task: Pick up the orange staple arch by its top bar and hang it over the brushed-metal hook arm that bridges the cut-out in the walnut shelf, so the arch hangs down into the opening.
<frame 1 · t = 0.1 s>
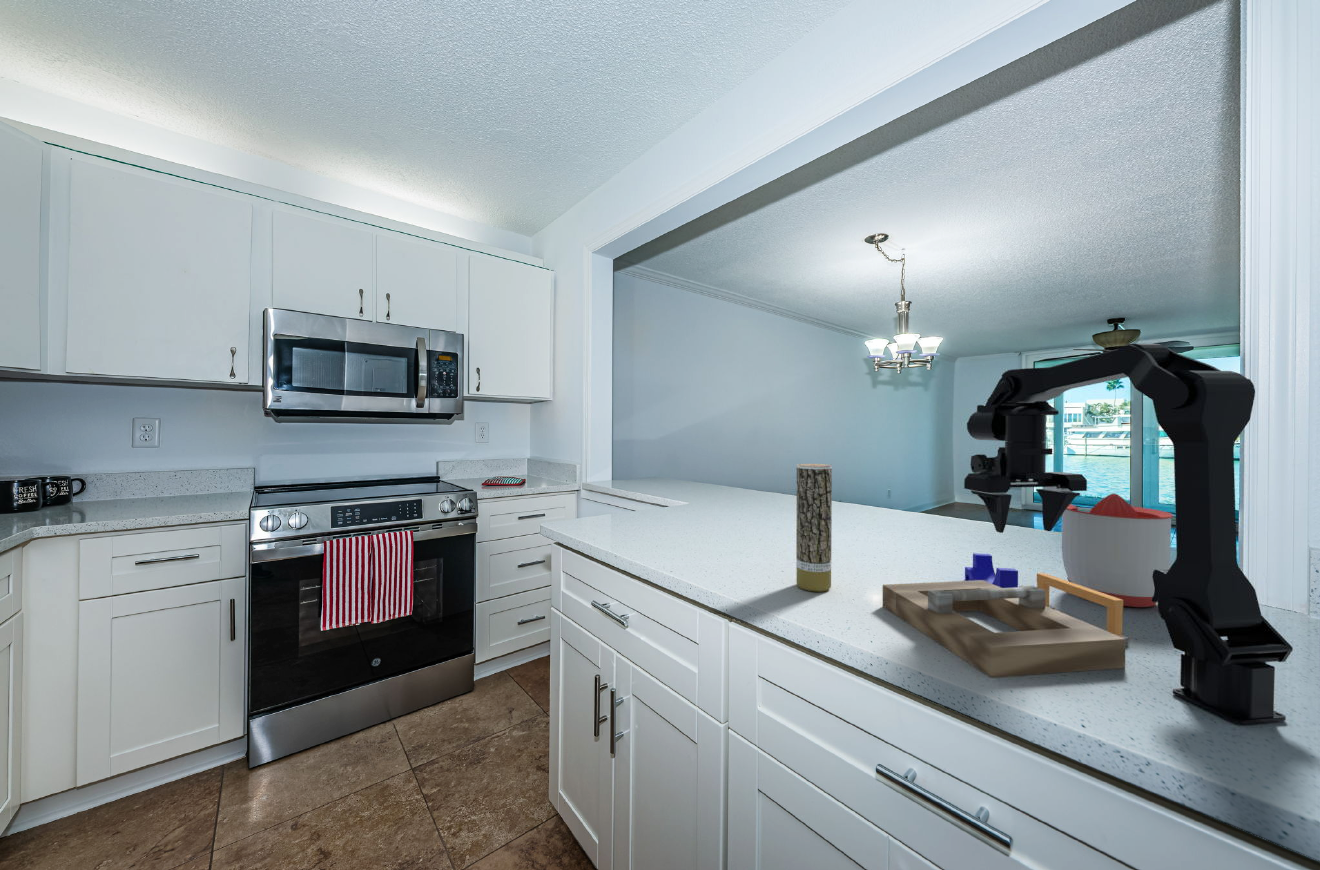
hand: (1023, 531, 85), 15 cm above the worktop, tool pointing down, fingers open, 9 cm apart
citrus juicer: (1108, 597, 94), on the worktop
orange staple arch: (1075, 627, 79), on the worktop
cable clip: (989, 592, 97), on the worktop
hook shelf: (986, 632, 78), on the worktop
paper tube: (813, 588, 99), on the worktop
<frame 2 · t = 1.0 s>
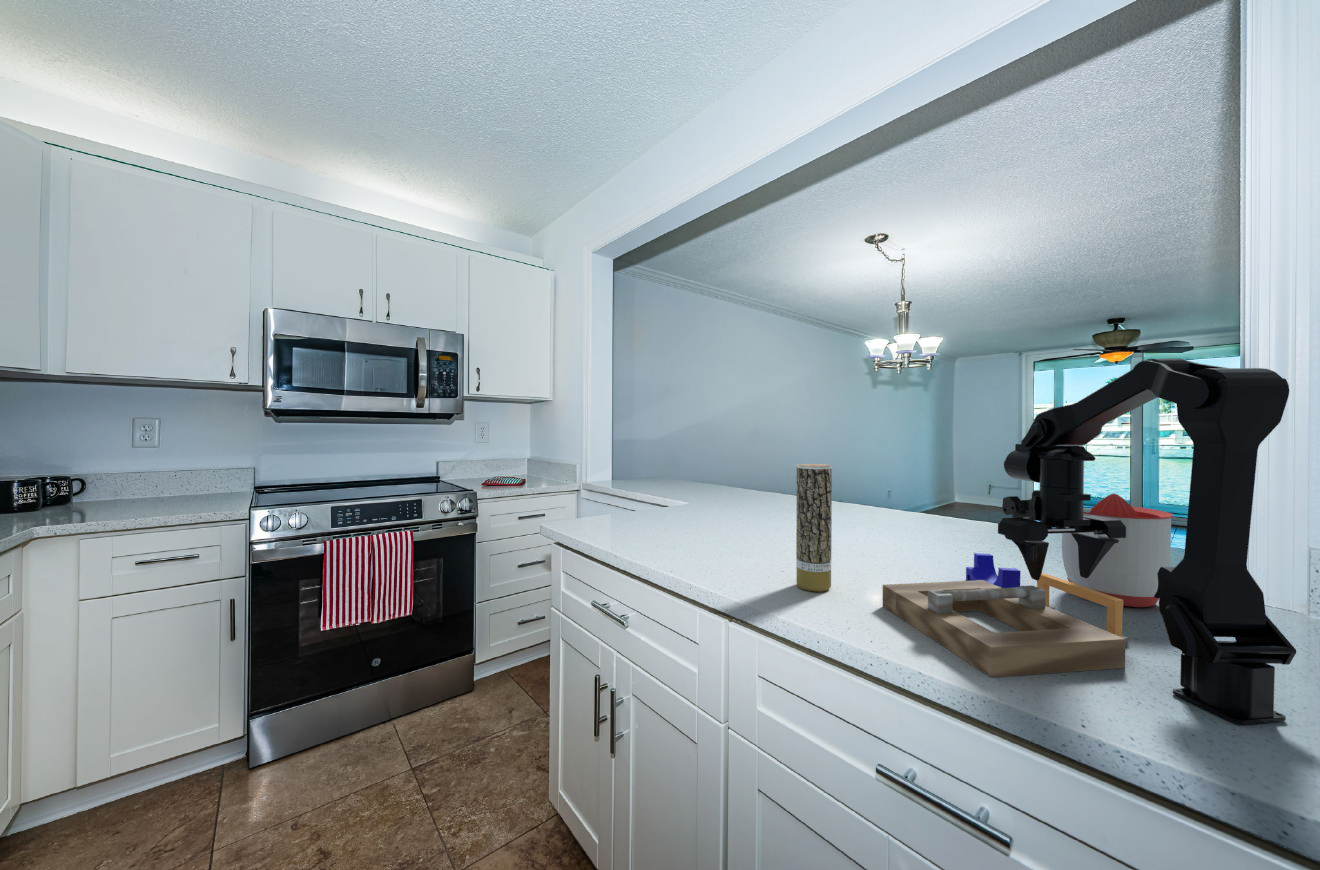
hand: (1059, 578, 82), 7 cm above the worktop, tool pointing down, fingers open, 9 cm apart
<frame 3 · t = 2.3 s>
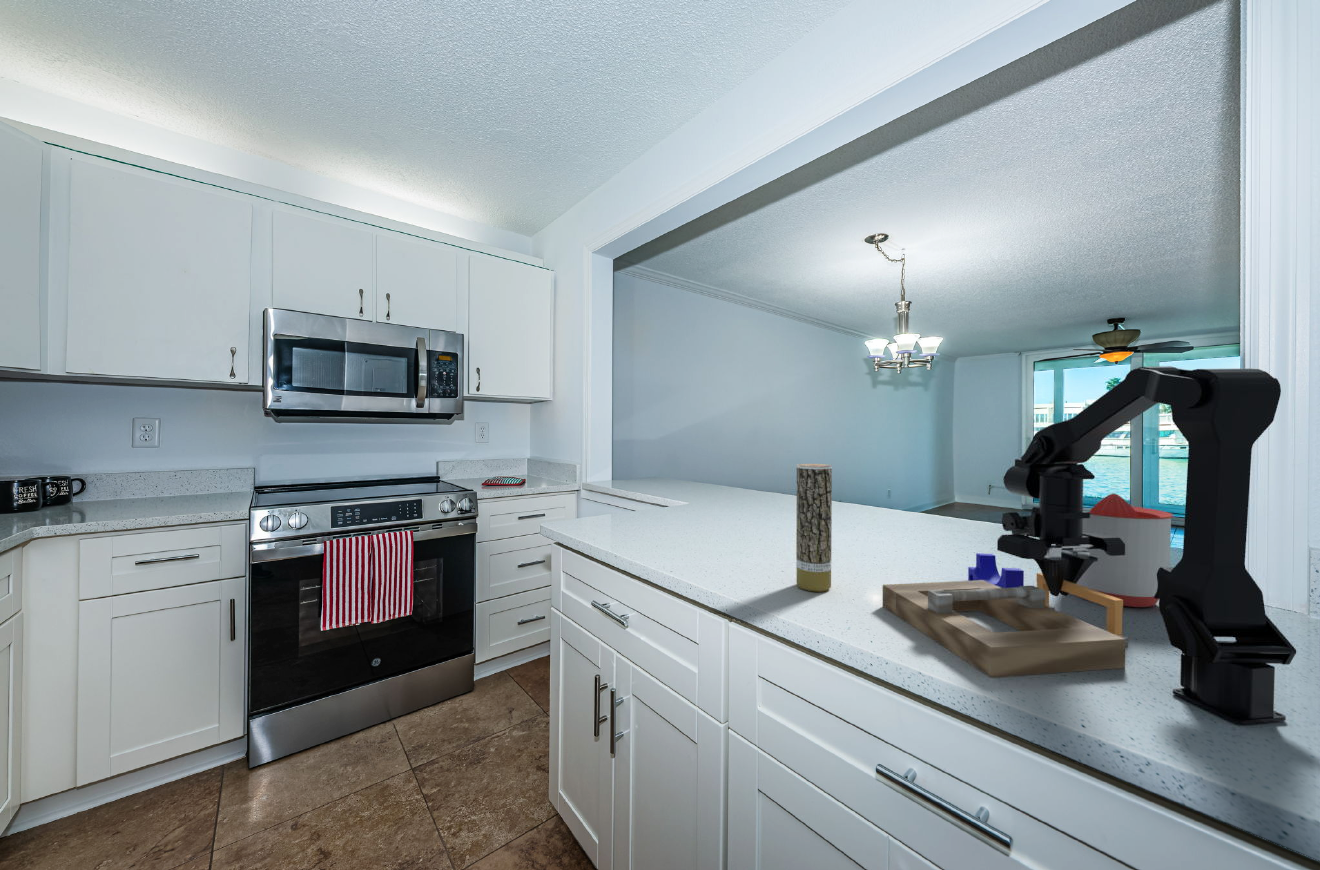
hand: (1059, 595, 82), 4 cm above the worktop, tool pointing down, fingers closed on orange staple arch
orange staple arch: (1075, 627, 79), on the worktop, touching gripper
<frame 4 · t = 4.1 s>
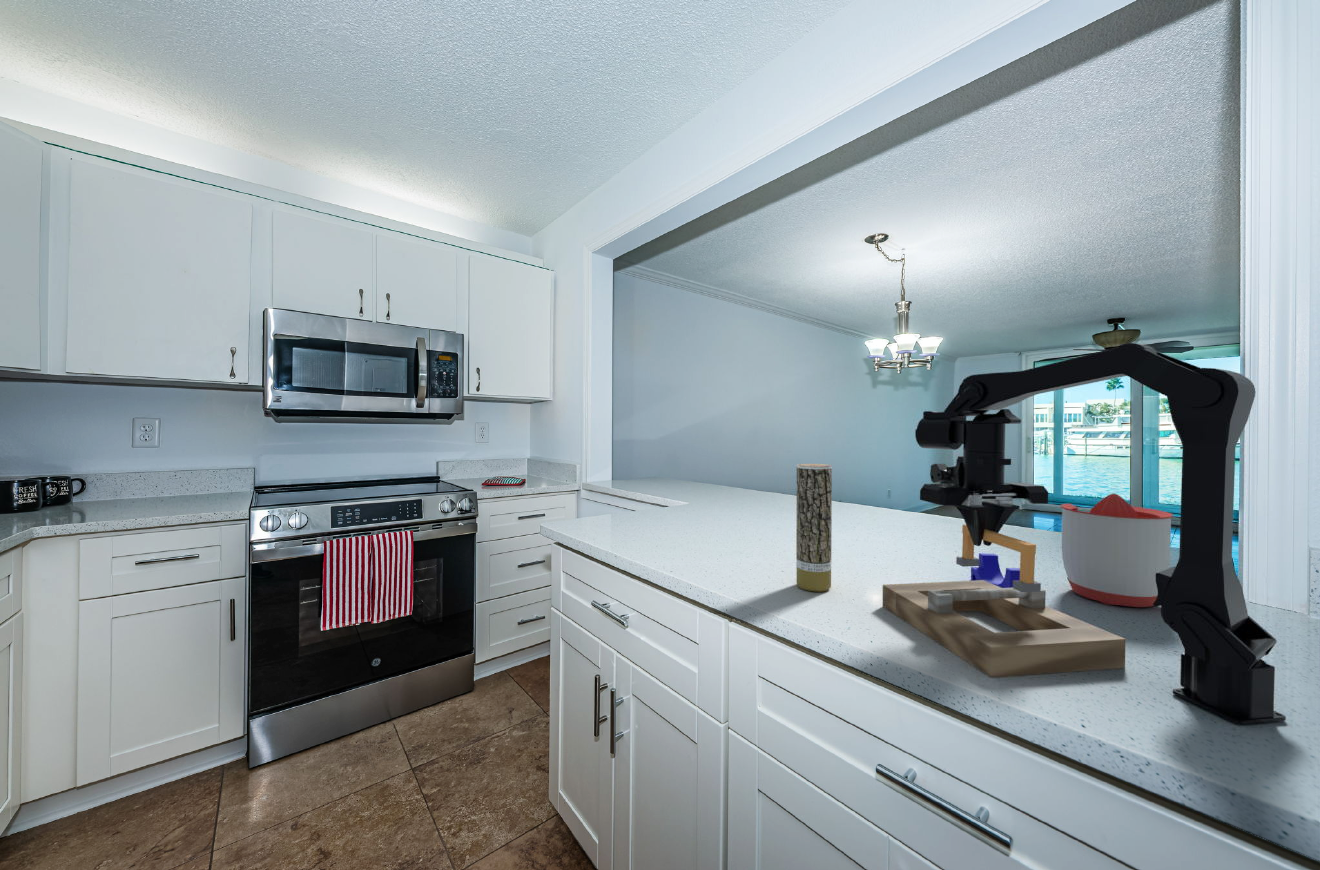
hand: (981, 545, 81), 13 cm above the worktop, tool pointing down, fingers closed on orange staple arch
orange staple arch: (994, 576, 78), point 9 cm above the worktop, touching gripper
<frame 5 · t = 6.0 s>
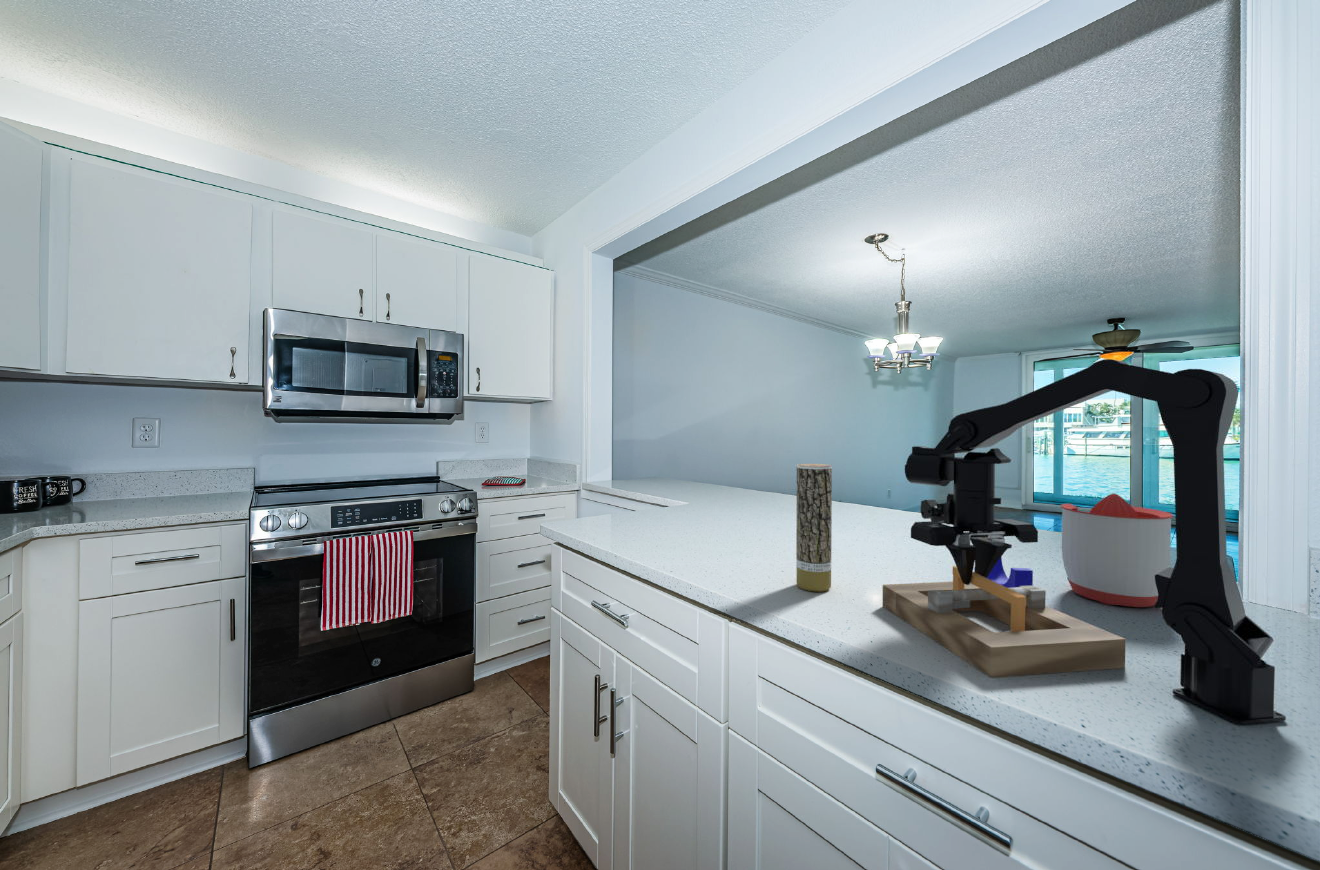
hand: (972, 583, 80), 7 cm above the worktop, tool pointing down, fingers closed
orange staple arch: (985, 621, 78), point 2 cm above the worktop, touching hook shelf
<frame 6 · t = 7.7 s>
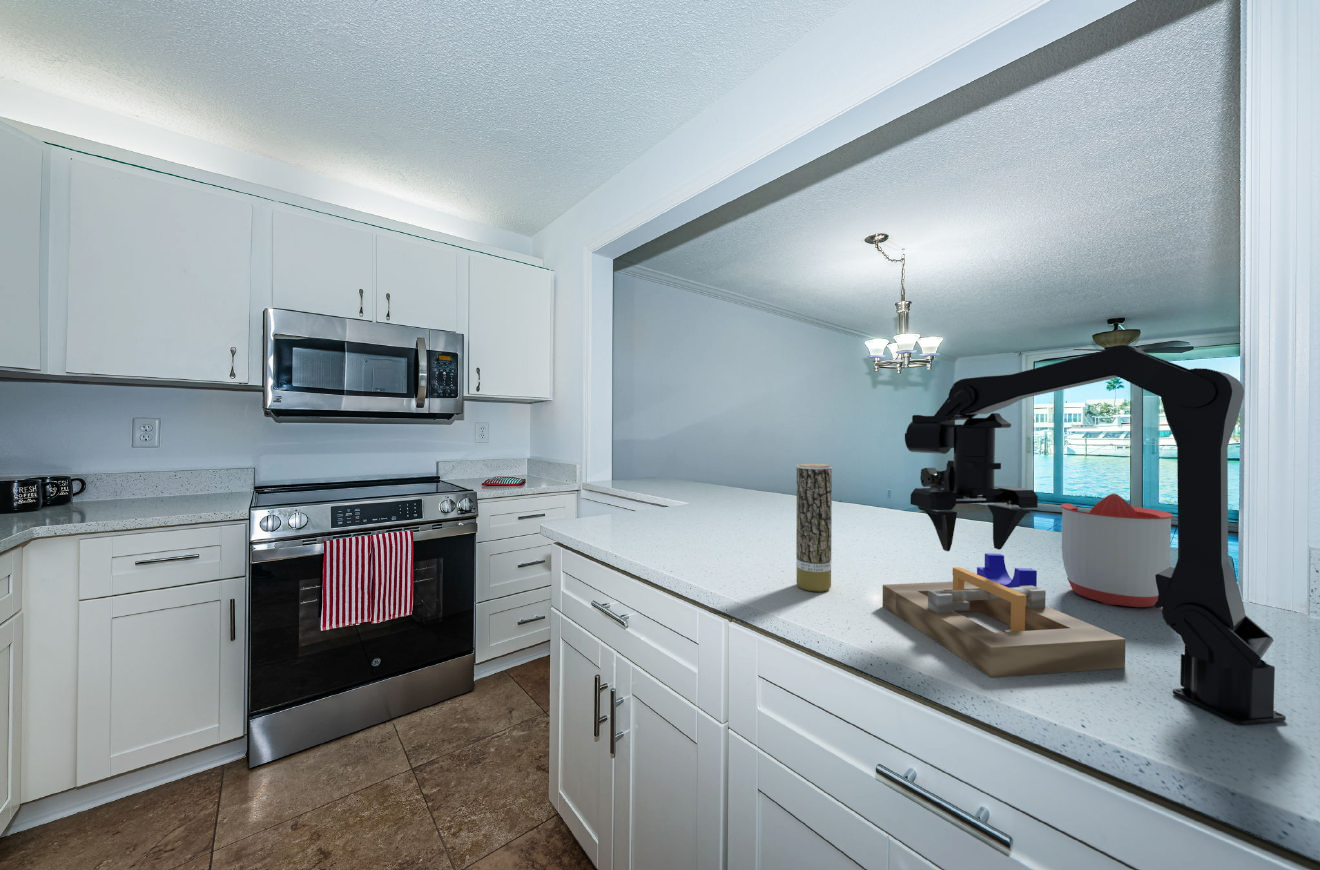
hand: (972, 549, 80), 12 cm above the worktop, tool pointing down, fingers open, 9 cm apart
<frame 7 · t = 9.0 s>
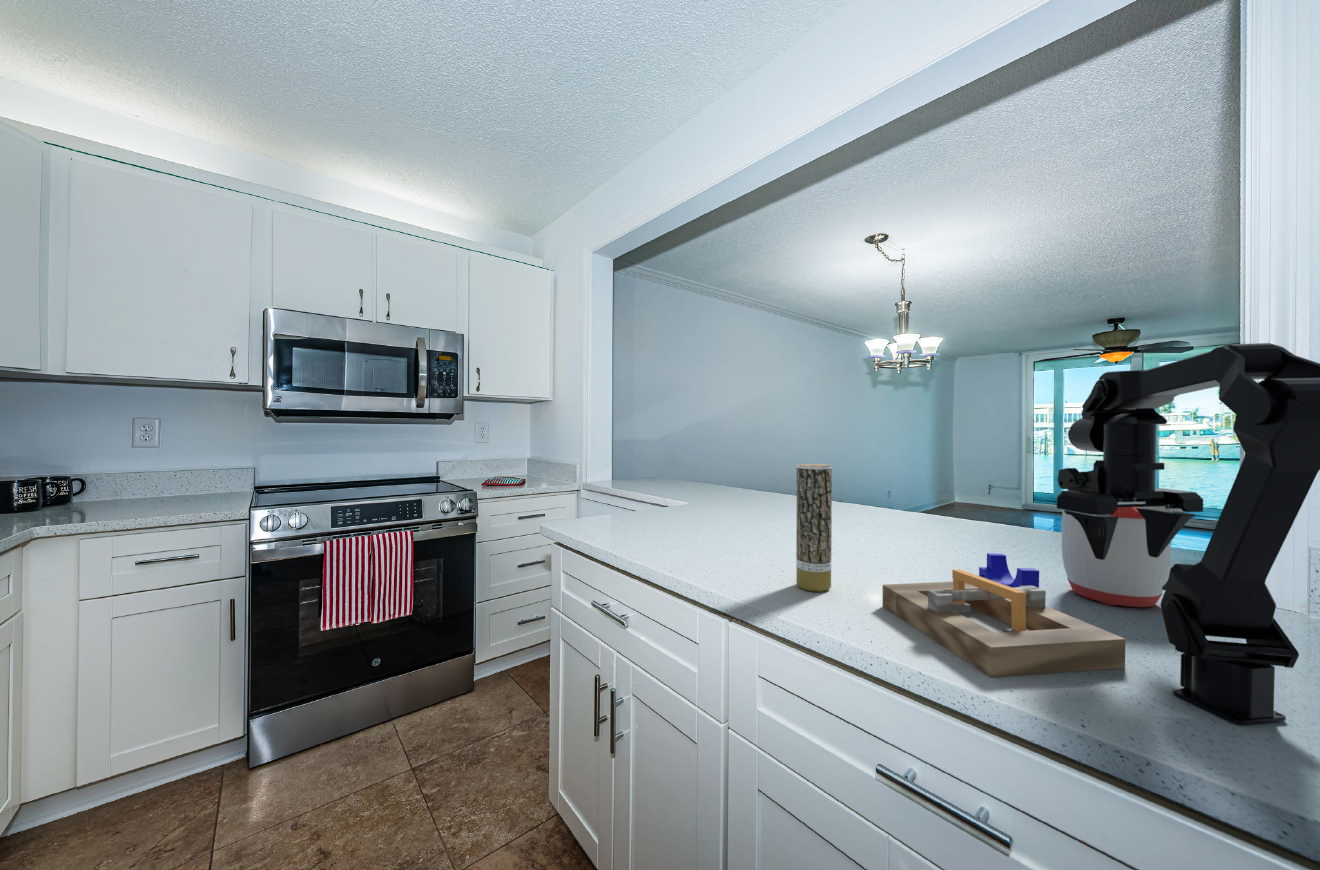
hand: (1126, 557, 73), 13 cm above the worktop, tool pointing down, fingers open, 9 cm apart
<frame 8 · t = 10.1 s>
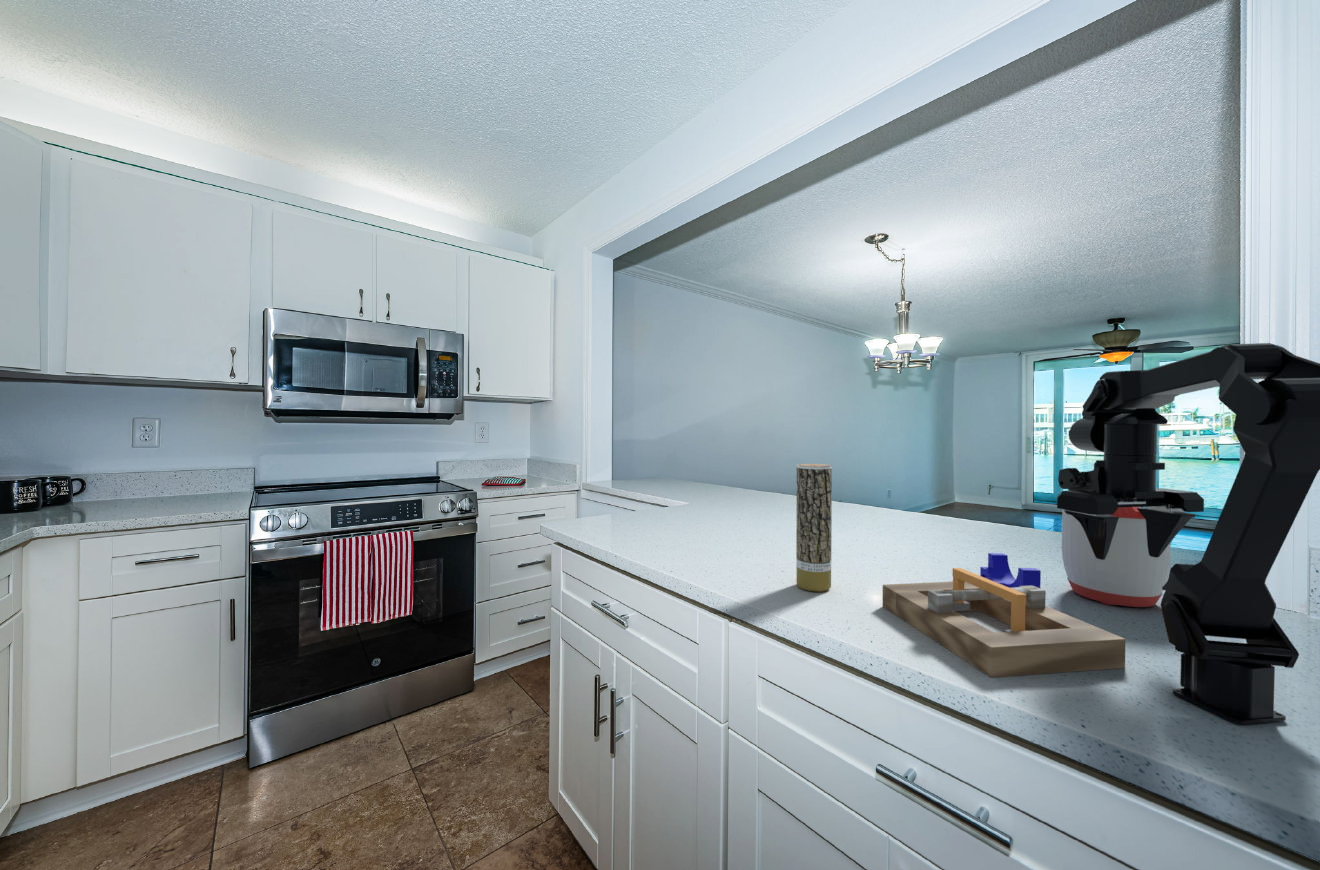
hand: (1127, 557, 73), 13 cm above the worktop, tool pointing down, fingers open, 9 cm apart
at the end: orange staple arch 0.4 cm off-centre on the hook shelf, point 1.5 cm above the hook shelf's base; orange staple arch touching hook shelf; the gripper is holding nothing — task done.
